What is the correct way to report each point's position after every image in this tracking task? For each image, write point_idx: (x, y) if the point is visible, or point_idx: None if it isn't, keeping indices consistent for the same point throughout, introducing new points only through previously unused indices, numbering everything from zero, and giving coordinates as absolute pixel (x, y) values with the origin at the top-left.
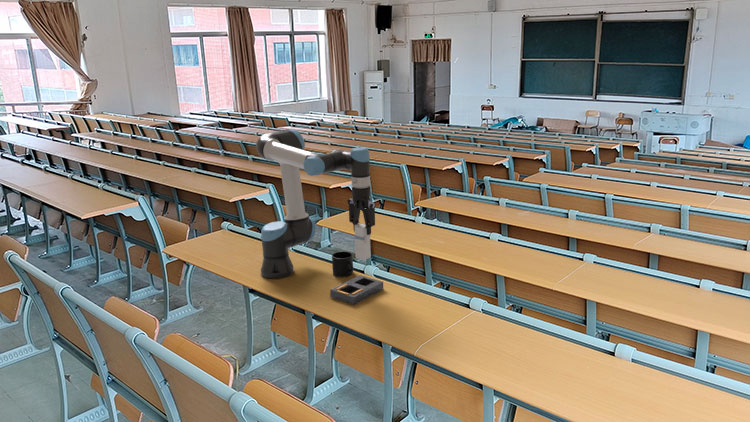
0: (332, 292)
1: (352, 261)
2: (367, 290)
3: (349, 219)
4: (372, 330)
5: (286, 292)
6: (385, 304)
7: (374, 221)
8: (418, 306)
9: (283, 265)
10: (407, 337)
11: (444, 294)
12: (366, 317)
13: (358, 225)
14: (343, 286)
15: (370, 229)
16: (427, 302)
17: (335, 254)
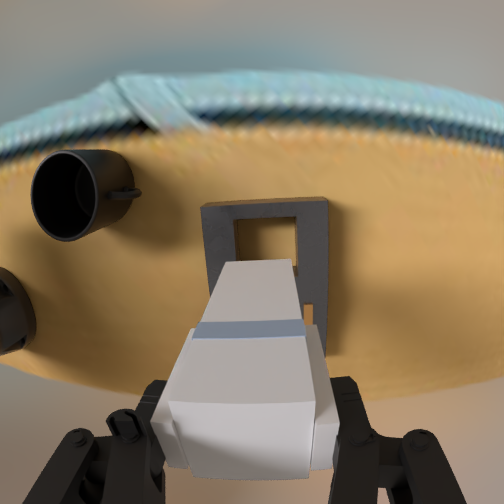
0: None
1: (105, 167)
2: (327, 296)
3: (88, 487)
4: (430, 389)
5: (113, 381)
6: (396, 282)
7: (447, 476)
8: (474, 231)
9: (12, 331)
10: (496, 359)
11: (486, 116)
12: (391, 365)
13: (195, 449)
14: None
15: (363, 418)
16: (481, 193)
17: (36, 200)
